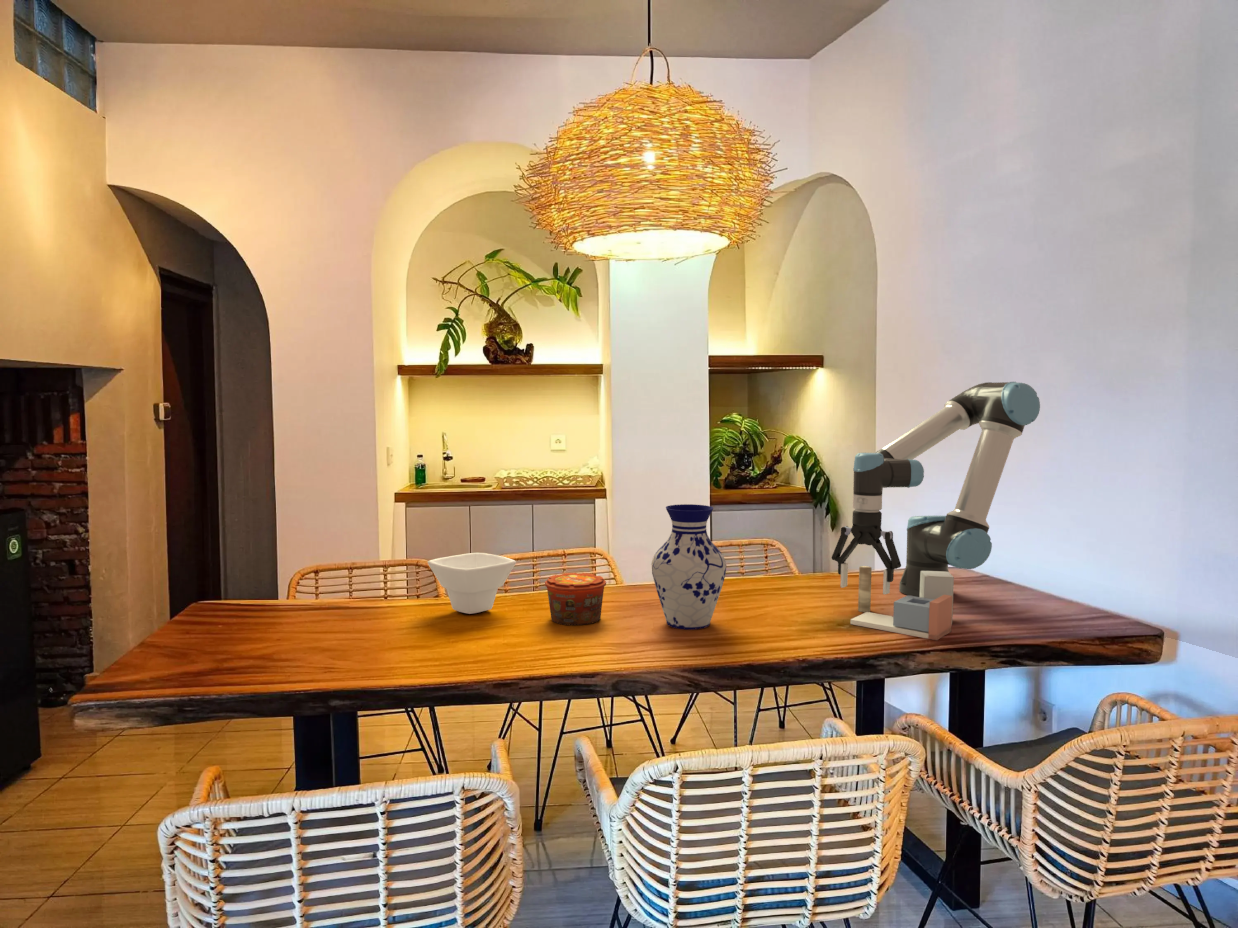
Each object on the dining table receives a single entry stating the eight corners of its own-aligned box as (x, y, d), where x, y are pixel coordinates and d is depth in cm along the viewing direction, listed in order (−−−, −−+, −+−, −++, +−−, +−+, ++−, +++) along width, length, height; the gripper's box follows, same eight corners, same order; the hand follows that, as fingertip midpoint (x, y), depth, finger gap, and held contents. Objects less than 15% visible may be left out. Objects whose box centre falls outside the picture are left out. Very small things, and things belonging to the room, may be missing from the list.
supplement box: (952, 625, 219) (954, 576, 218) (922, 624, 220) (923, 575, 219) (947, 618, 226) (949, 571, 225) (918, 616, 227) (919, 569, 226)
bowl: (522, 611, 231) (522, 560, 230) (464, 625, 217) (463, 571, 216) (479, 599, 244) (479, 551, 243) (421, 612, 230) (420, 560, 229)
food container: (534, 623, 219) (534, 582, 218) (560, 609, 234) (560, 570, 233) (592, 630, 213) (592, 587, 213) (615, 614, 228) (615, 574, 228)
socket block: (907, 618, 220) (907, 595, 220) (942, 624, 214) (943, 600, 214) (893, 625, 213) (893, 601, 213) (929, 632, 207) (930, 607, 207)
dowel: (861, 608, 236) (862, 565, 235) (872, 610, 234) (873, 567, 233) (856, 610, 233) (857, 567, 232) (867, 612, 231) (868, 568, 230)
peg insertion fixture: (866, 616, 228) (867, 582, 227) (951, 631, 213) (952, 595, 213) (850, 623, 220) (851, 589, 219) (936, 640, 206) (938, 603, 205)
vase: (732, 617, 225) (734, 504, 223) (716, 637, 207) (718, 514, 205) (662, 611, 231) (663, 501, 229) (641, 629, 214) (642, 510, 211)
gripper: (820, 507, 236) (818, 585, 238) (905, 516, 220) (902, 599, 222) (832, 504, 241) (830, 581, 243) (916, 512, 226) (913, 594, 228)
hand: (864, 590), depth 233 cm, fingers open, 11 cm apart
